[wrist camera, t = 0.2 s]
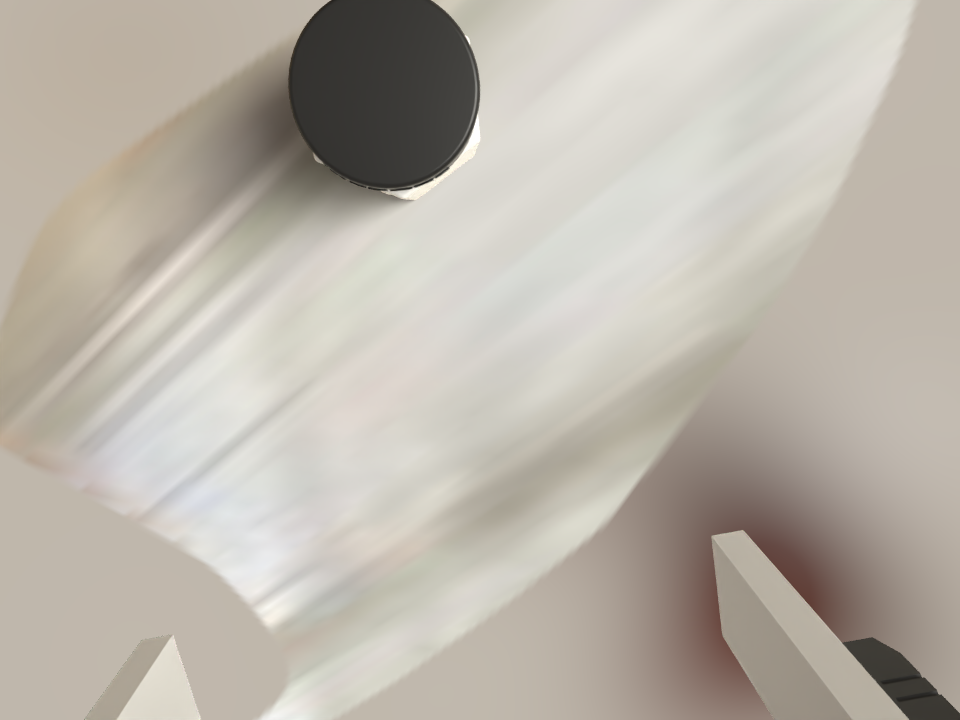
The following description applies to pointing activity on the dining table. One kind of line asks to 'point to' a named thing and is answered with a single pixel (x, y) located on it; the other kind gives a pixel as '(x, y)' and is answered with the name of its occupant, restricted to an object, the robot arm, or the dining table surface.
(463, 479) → the dining table surface
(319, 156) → the jar
